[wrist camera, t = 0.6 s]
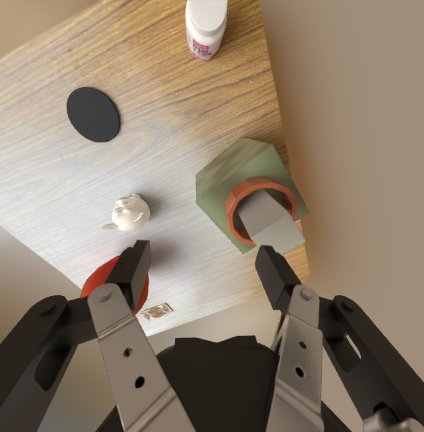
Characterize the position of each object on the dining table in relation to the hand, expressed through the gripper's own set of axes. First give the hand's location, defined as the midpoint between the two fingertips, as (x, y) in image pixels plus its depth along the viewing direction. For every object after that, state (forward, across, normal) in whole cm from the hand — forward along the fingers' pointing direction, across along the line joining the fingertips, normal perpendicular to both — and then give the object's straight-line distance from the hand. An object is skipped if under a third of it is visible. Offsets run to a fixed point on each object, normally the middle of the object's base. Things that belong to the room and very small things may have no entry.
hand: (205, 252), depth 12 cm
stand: (+24, -7, +1) cm, 25 cm away
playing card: (+24, +10, +44) cm, 50 cm away
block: (+10, -7, +1) cm, 12 cm away
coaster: (+24, +18, -8) cm, 30 cm away
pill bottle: (+24, +1, -19) cm, 31 cm away
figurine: (+24, +13, +9) cm, 28 cm away
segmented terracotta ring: (+10, -7, +1) cm, 12 cm away
